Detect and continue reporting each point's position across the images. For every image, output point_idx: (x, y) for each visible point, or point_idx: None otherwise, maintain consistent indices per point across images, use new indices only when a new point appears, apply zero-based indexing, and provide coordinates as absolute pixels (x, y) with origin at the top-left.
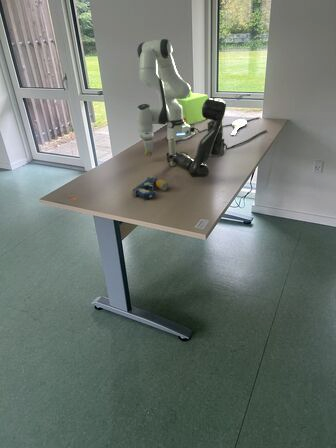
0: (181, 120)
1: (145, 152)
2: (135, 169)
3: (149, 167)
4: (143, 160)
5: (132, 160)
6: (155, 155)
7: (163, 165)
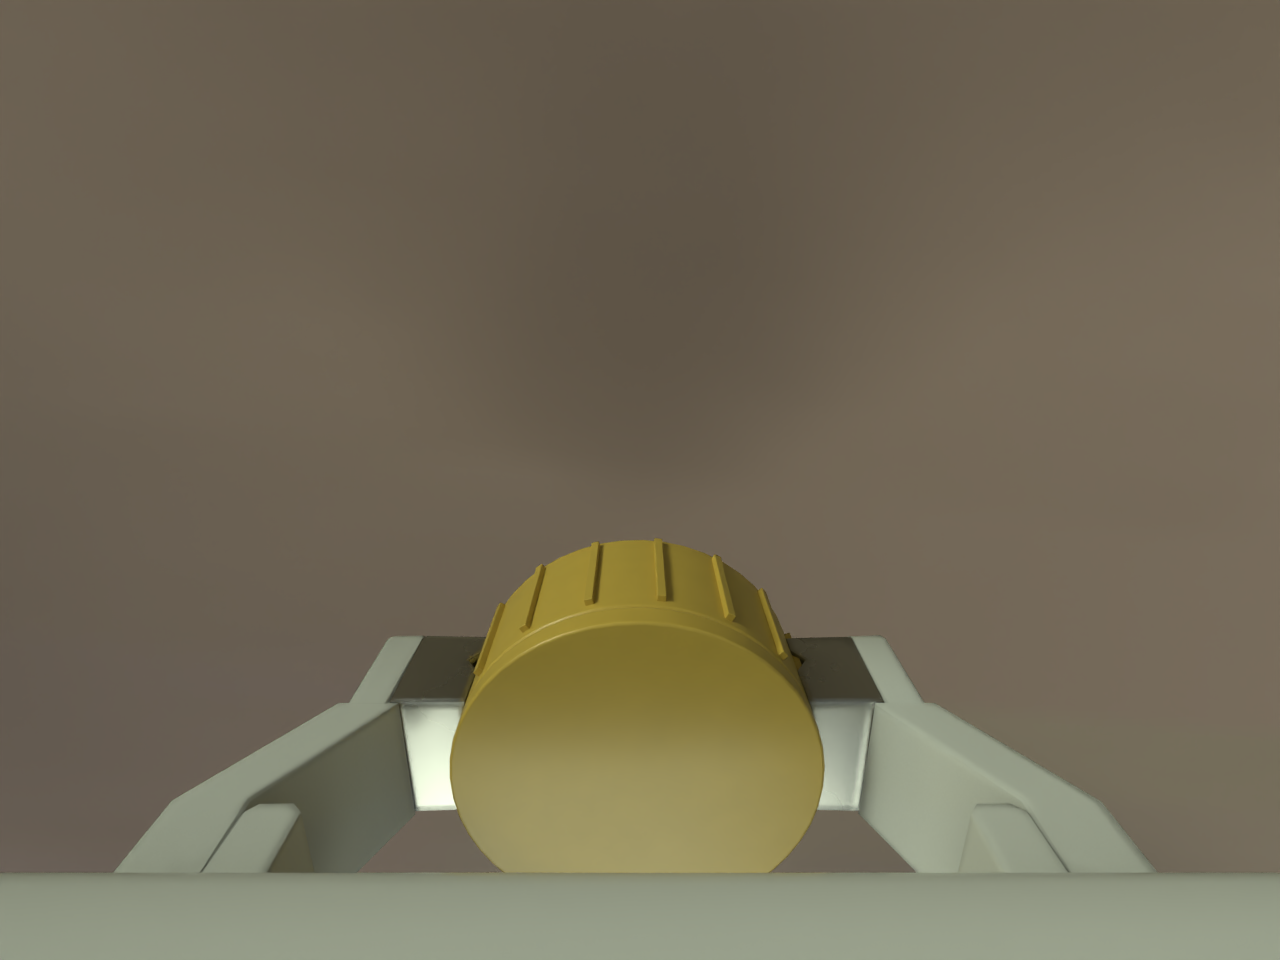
0: None
1: None
2: None
3: (1132, 595)
4: None
5: None
6: (151, 302)
7: (1252, 159)
